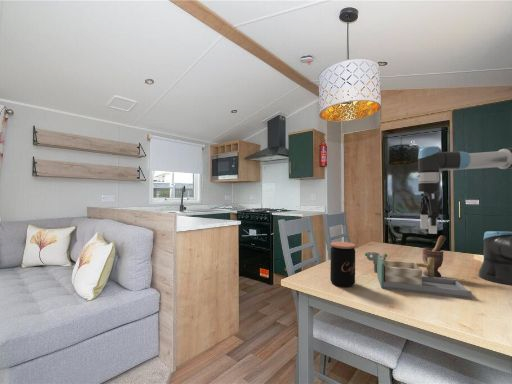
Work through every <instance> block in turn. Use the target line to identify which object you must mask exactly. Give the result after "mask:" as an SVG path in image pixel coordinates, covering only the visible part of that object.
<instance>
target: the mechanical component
mask: <svg viewBox="0 0 512 384" xmlns="http://www.w3.org/2000/svg"><path fill="white" fill-rule="evenodd" d="M378 255H380V253H379V252H374V251H373V252H372V251H371V252H370V251H366V252H365V253H364V256H365V257H366V259H367V260H368V261H370V262H371V261H372V263H373V272H374V273H376V274H378ZM380 257H381V259H382V260H387V259H386V258H387V257H388V254H387V253H385V252H383V253H382V254H381V255H380Z"/></svg>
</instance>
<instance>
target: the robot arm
mask: <svg viewBox="0 0 512 384" xmlns="http://www.w3.org/2000/svg"><path fill="white" fill-rule="evenodd" d="M417 161H418V165H417V166H418V174H417V175H416V177H417V178H418V180H417V181H418V185H417V190H418V192H420V193H421V192H423V193H421V195H420V205H419V213H420V229H421V230H428V234H433V235H435V234H436V235H437V234H438V217H439V216H440V213H439V207H438V200H437V193H438V192H439V191H440V183H438V182H440V172H441V171H442V172H444V171H457V170H474V169H490V168H498V169H501V170H507V169H508V170H509V169H510V170H511V169H512V147H509V148H502V149H501V148H500V149H499V150H498V151H485V152H483V151H482V152H471V153H470V152H466V151H460V150H458V151H441V150H440V148H439V146H424V147H420V148H419V150H418V157H417ZM435 192H437V193H435ZM483 234H484V235H483V239H482V240H483V261H482V264H480V265H481V266H480V268H479V269H478V276H479V278H481V279H483V280H486V281H490V282H493V283H498V284H504V285H511V284H512V231H499V230H498V231H493V230H491V231H484V233H483Z"/></svg>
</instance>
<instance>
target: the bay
mask: <svg viewBox="0 0 512 384" xmlns="http://www.w3.org/2000/svg"><path fill="white" fill-rule="evenodd" d="M380 256H381V254H379V255H378V266H377V279H378V282H379V285H380V287H381V289H383V290H384V289H385V290H393V291H394V290H395V291H402V292H410V293H419V294H425V295H426V294H427V295H436V296H437V295H438V296H445V297H452V298H460V299H461V298H462V299H469V300H472V297H473V296H472V295H473V293H472V290H469V289H468V288H466V287H465V286H464V285H462V284H461V283H460V281H458V279H455V278H447V277H446V278H444V277H440V278H437V277H433V278H432V277H428V276H424V275H422V285H413V284H404V283H395V282H386V281H384V263H383V261H382V259H383V258H381V257H380Z"/></svg>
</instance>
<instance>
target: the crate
mask: <svg viewBox="0 0 512 384" xmlns="http://www.w3.org/2000/svg"><path fill="white" fill-rule="evenodd" d="M382 261H383V263H384V281H386V282H395V283H404V284H413V285H422V276H423V270H422V269H421V268H426V269H427V277H432V278H433V277H434V258H428V264H424V263H421V262H419V263H418V262H412V261H411V262H410V261H399V260H387V259H386V260H382Z"/></svg>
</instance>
